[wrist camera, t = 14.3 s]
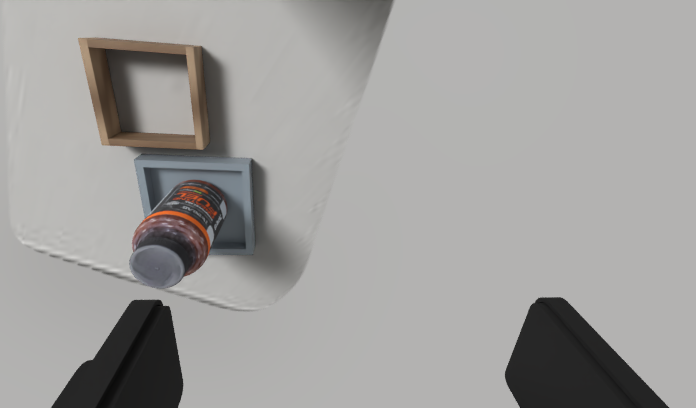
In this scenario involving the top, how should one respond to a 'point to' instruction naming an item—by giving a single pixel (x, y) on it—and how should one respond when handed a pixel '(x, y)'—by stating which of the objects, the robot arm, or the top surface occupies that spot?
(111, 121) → the holder
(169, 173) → the tray
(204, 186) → the supplement bottle
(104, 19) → the top surface
